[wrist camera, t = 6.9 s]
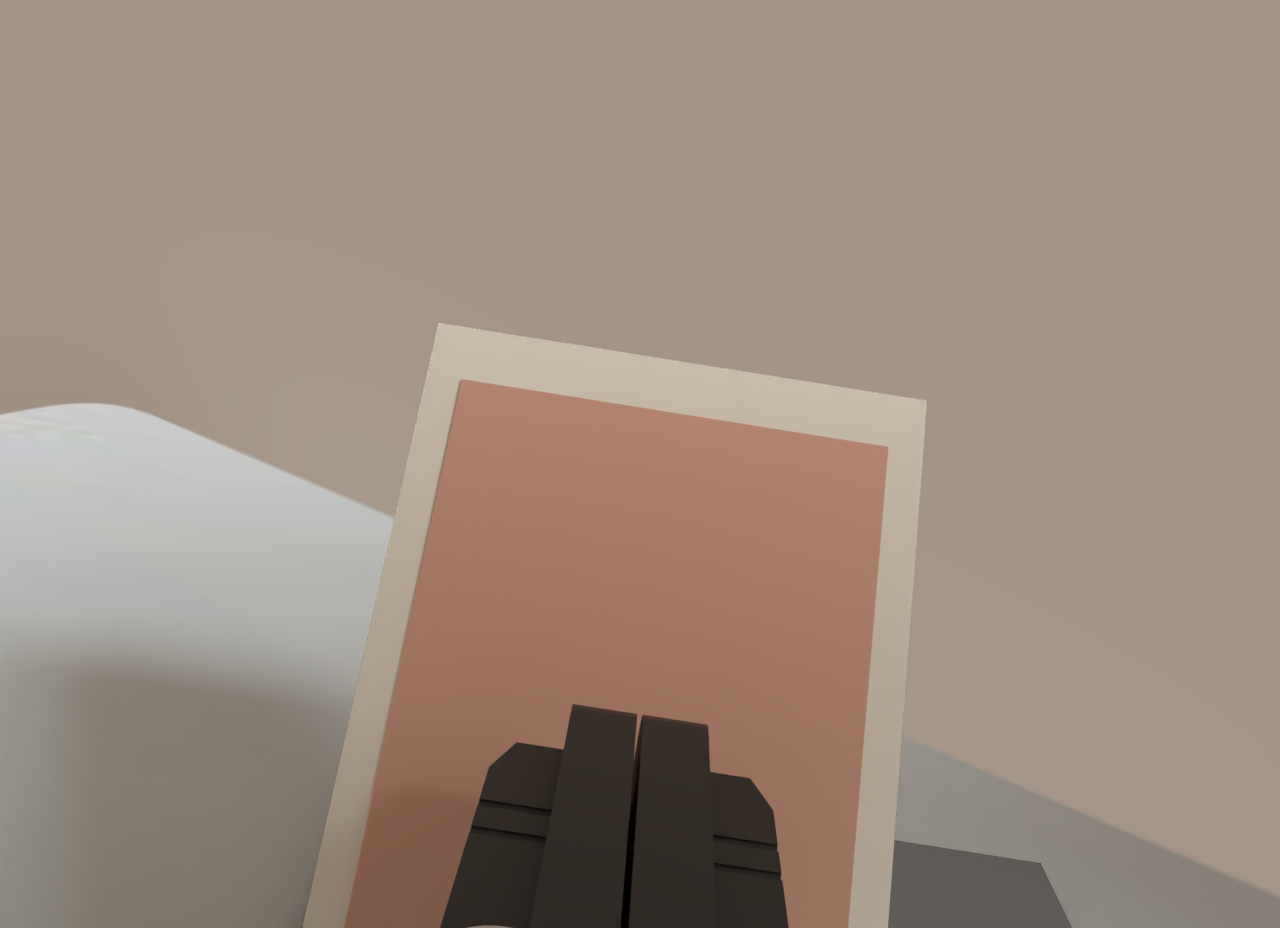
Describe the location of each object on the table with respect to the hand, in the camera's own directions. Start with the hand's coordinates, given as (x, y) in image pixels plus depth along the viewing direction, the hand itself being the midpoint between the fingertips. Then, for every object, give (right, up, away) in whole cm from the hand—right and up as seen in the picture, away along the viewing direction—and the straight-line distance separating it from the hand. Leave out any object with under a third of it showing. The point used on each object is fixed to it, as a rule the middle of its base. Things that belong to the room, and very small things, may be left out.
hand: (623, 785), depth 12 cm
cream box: (-1, -7, +1) cm, 7 cm away
